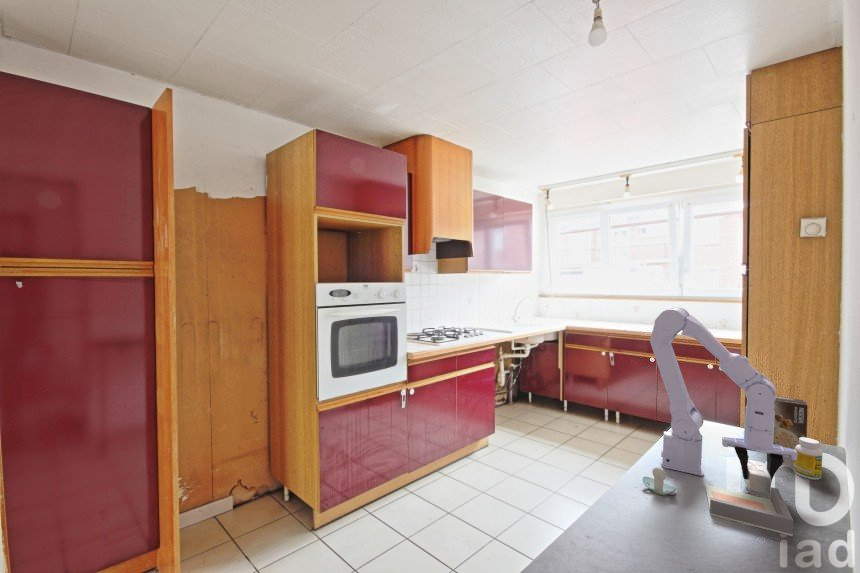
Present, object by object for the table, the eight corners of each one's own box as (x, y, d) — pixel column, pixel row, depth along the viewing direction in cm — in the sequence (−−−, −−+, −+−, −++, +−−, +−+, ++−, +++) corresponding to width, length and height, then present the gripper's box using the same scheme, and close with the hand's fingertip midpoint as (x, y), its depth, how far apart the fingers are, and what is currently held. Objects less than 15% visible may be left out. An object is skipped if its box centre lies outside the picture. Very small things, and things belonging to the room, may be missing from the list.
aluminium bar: (770, 498, 97) (771, 478, 97) (749, 493, 99) (750, 473, 99) (762, 481, 105) (763, 462, 105) (743, 477, 107) (744, 458, 107)
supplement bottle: (797, 468, 112) (799, 434, 112) (823, 476, 108) (825, 441, 107) (790, 473, 109) (792, 438, 109) (817, 482, 105) (819, 446, 104)
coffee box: (802, 452, 122) (805, 399, 122) (806, 460, 117) (809, 405, 116) (763, 444, 128) (765, 394, 127) (765, 451, 122) (767, 399, 122)
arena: (710, 514, 90) (710, 499, 90) (705, 485, 103) (705, 472, 102) (792, 536, 83) (793, 520, 83) (776, 502, 95) (777, 488, 95)
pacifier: (649, 481, 105) (639, 488, 101) (651, 457, 105) (640, 463, 101) (681, 494, 99) (671, 501, 96) (682, 468, 99) (672, 475, 95)
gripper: (725, 426, 102) (722, 479, 102) (801, 439, 94) (798, 496, 95) (722, 417, 108) (719, 467, 108) (793, 428, 100) (791, 482, 101)
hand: (756, 479), depth 102 cm, fingers closed on aluminium bar, 4 cm apart
